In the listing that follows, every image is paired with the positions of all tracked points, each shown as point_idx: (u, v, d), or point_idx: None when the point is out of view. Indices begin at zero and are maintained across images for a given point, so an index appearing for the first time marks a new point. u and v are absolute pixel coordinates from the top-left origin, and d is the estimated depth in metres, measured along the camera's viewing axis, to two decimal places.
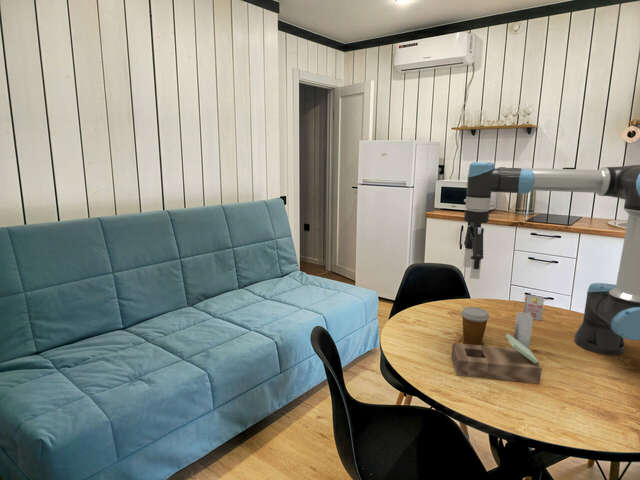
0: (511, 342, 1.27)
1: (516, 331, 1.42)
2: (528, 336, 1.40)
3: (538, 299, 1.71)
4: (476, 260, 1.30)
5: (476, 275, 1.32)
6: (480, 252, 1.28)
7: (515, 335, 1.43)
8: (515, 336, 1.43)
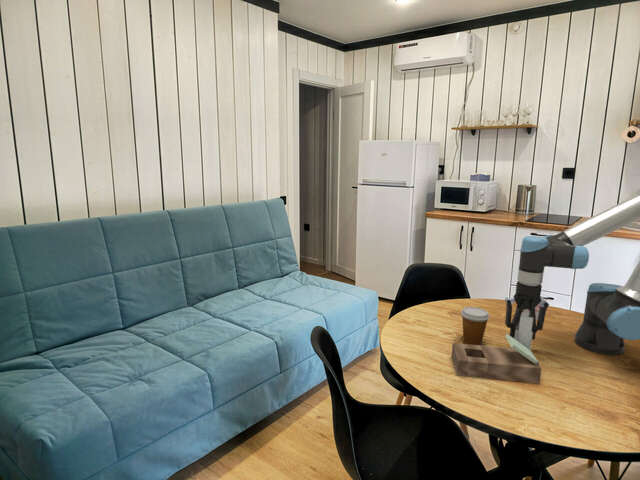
0: (510, 343, 1.27)
1: None
2: (528, 336, 1.40)
3: None
4: (510, 328, 1.43)
5: None
6: (506, 321, 1.42)
7: None
8: None
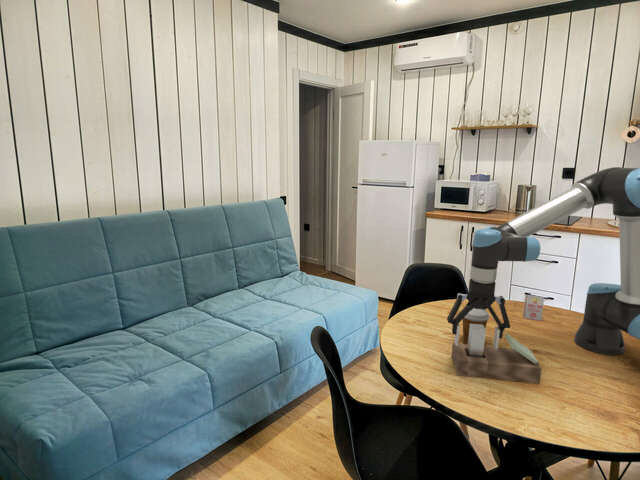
0: (510, 343, 1.27)
1: (469, 344, 1.32)
2: (481, 350, 1.29)
3: (538, 299, 1.71)
4: None
5: (455, 341, 1.32)
6: (449, 316, 1.31)
7: (468, 348, 1.33)
8: (468, 349, 1.33)
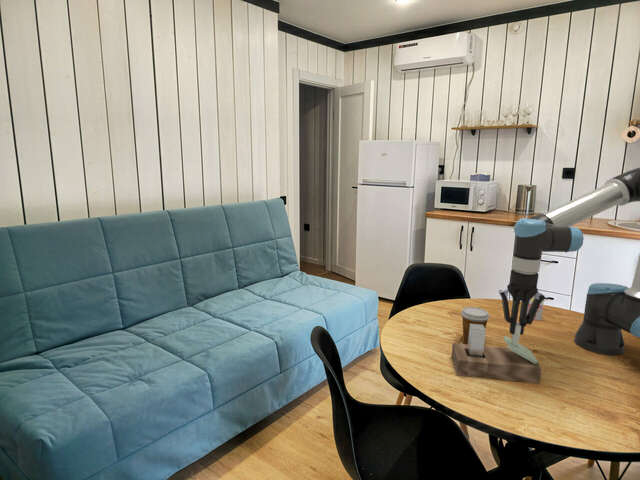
0: (508, 345, 1.28)
1: (469, 344, 1.32)
2: (481, 350, 1.29)
3: None
4: (510, 323, 1.28)
5: (513, 340, 1.29)
6: (505, 316, 1.27)
7: (468, 348, 1.33)
8: (468, 349, 1.33)
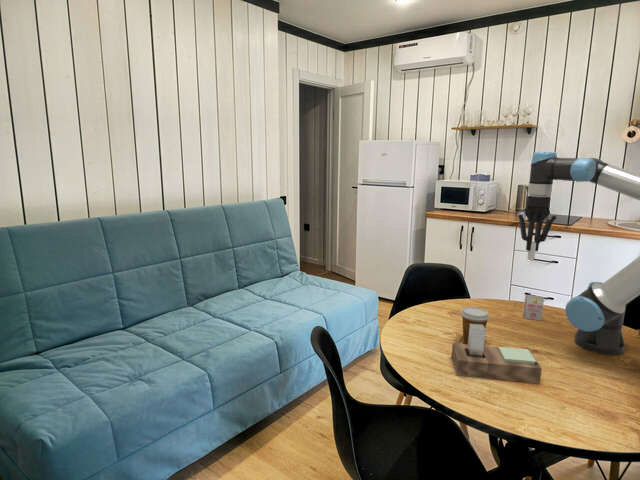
0: (502, 357, 1.29)
1: (469, 344, 1.32)
2: (481, 350, 1.29)
3: (538, 299, 1.71)
4: None
5: (529, 256, 1.52)
6: (522, 235, 1.51)
7: (468, 348, 1.33)
8: (468, 349, 1.33)
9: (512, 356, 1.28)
